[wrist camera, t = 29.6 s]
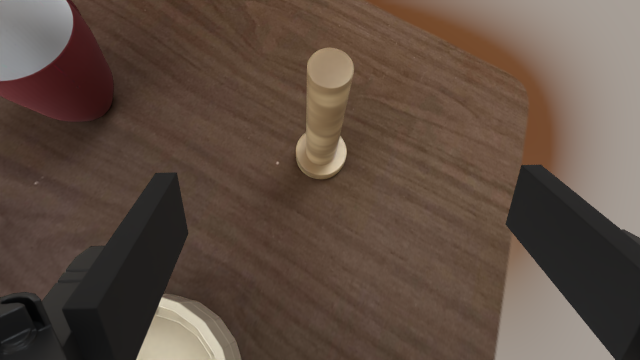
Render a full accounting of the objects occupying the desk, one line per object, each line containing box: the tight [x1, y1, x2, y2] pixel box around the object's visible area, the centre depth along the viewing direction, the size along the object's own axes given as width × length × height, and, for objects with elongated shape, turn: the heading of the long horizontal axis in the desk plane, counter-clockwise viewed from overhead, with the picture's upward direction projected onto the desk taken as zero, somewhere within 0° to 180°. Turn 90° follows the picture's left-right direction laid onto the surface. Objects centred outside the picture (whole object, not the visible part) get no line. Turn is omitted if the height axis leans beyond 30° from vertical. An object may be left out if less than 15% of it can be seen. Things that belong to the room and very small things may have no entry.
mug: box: [0, 0, 114, 122], centre depth 31 cm, size 10×8×10 cm
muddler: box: [296, 48, 354, 179], centre depth 28 cm, size 4×4×14 cm
